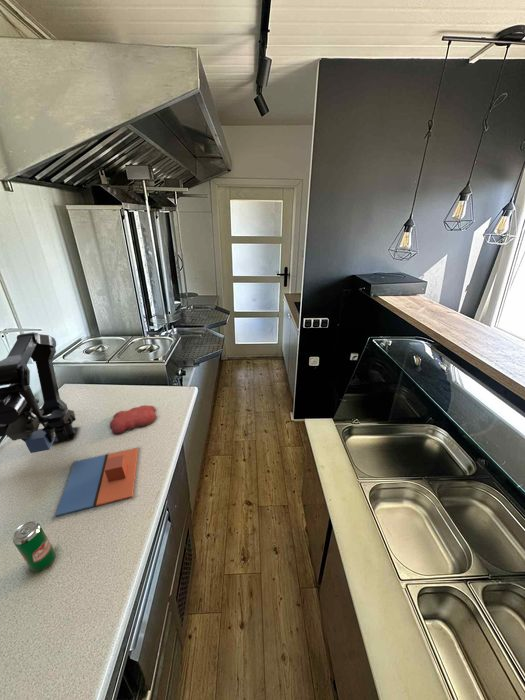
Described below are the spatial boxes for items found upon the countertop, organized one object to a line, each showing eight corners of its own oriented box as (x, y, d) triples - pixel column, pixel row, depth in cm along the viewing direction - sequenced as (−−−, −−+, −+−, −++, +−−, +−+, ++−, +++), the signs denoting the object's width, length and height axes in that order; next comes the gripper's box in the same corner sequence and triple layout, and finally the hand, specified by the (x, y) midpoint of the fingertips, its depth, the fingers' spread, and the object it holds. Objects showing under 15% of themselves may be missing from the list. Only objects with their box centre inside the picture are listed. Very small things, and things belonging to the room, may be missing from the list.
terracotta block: (111, 469, 93) (107, 458, 91) (127, 465, 95) (124, 454, 92) (108, 481, 89) (104, 470, 87) (125, 477, 90) (122, 466, 88)
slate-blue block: (37, 442, 92) (31, 429, 90) (55, 438, 93) (49, 426, 91) (30, 453, 87) (24, 440, 85) (49, 449, 89) (43, 437, 86)
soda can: (43, 574, 67) (23, 544, 62) (25, 570, 68) (4, 539, 63) (61, 552, 71) (44, 521, 66) (44, 548, 72) (26, 517, 67)
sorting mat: (75, 462, 97) (74, 461, 97) (138, 449, 102) (137, 447, 102) (55, 516, 80) (54, 515, 79) (132, 497, 85) (131, 495, 84)
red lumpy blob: (110, 437, 108) (109, 433, 107) (110, 416, 119) (108, 412, 118) (158, 422, 115) (157, 418, 114) (153, 404, 126) (153, 400, 125)
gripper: (-33, 426, 74) (-8, 470, 81) (48, 413, 78) (66, 455, 85) (-9, 402, 84) (12, 442, 90) (62, 391, 88) (78, 431, 95)
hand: (42, 443), depth 90 cm, fingers closed on slate-blue block, 5 cm apart
